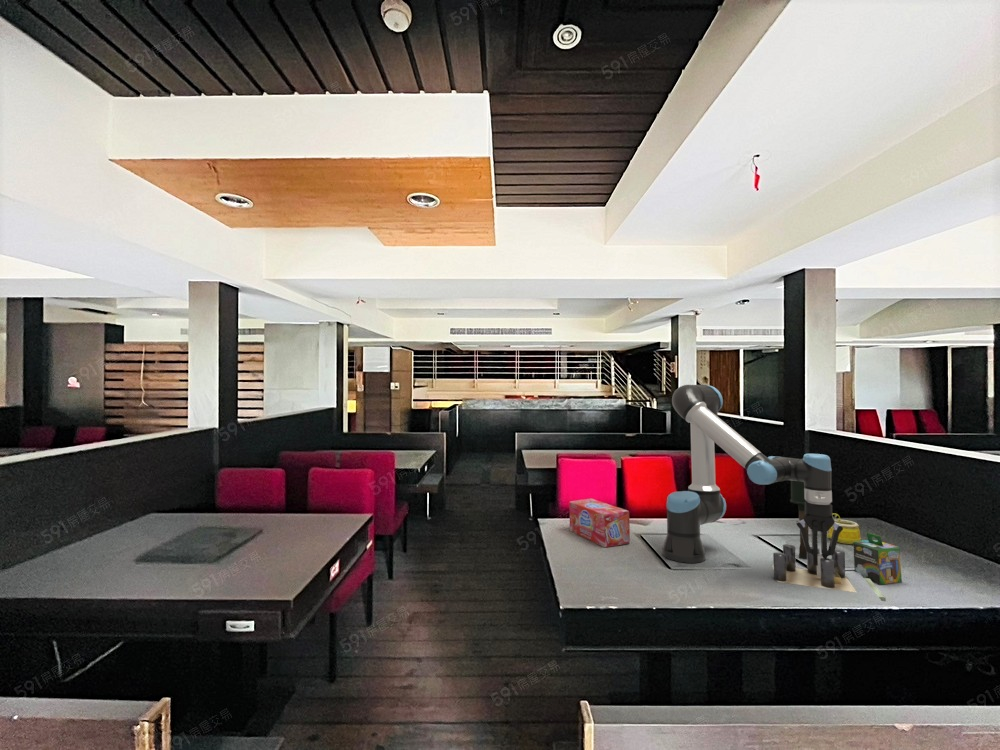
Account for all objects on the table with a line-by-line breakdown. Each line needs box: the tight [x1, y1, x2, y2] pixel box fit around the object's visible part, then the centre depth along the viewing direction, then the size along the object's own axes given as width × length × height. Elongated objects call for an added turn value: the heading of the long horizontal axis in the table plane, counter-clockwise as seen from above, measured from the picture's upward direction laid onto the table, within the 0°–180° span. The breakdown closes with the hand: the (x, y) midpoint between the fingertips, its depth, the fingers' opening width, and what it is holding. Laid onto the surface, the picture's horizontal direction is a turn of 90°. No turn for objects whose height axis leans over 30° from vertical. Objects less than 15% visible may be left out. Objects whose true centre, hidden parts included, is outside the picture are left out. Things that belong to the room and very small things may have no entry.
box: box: [569, 498, 631, 548], centre depth 209 cm, size 27×13×14 cm, turn 24°
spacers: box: [772, 544, 846, 589], centre depth 159 cm, size 22×15×8 cm
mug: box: [827, 512, 862, 545], centre depth 203 cm, size 13×11×12 cm
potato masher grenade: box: [789, 480, 810, 560], centre depth 180 cm, size 8×9×30 cm
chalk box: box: [852, 532, 903, 586], centre depth 162 cm, size 9×9×15 cm
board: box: [771, 564, 887, 602], centre depth 158 cm, size 28×16×1 cm, turn 66°
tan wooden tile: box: [834, 572, 841, 584], centre depth 157 cm, size 4×4×2 cm
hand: (820, 575), depth 158 cm, fingers closed
